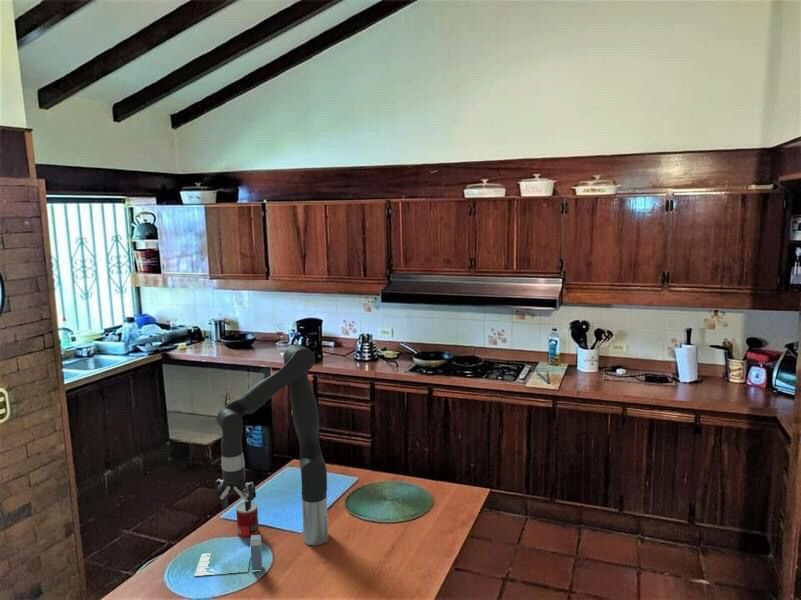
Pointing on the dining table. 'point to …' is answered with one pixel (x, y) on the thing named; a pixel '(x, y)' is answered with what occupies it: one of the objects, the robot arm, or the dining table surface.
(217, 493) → the robot arm
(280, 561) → the dining table surface
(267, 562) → the dining table surface
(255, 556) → the grey rectangular block
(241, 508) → the canned food
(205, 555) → the notepad
